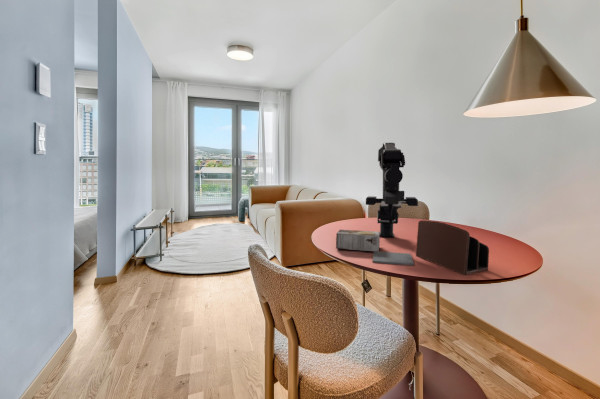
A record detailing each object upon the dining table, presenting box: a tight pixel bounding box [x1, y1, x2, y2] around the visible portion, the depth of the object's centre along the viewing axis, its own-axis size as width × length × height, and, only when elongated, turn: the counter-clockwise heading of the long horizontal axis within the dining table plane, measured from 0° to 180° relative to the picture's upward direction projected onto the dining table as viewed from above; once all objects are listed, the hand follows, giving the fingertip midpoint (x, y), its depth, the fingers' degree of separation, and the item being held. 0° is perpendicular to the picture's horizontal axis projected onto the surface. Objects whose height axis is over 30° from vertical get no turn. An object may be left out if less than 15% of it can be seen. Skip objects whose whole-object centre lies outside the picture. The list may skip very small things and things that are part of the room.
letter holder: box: [415, 220, 490, 276], centre depth 93 cm, size 10×20×14 cm, turn 21°
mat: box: [372, 251, 415, 267], centre depth 99 cm, size 11×13×1 cm
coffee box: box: [335, 229, 381, 252], centre depth 111 cm, size 9×6×16 cm
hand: (390, 223), depth 109 cm, fingers closed
